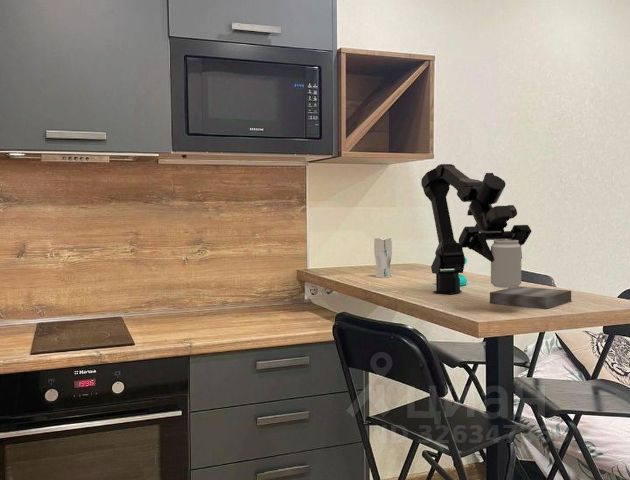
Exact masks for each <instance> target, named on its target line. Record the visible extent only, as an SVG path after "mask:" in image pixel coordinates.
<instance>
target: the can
mask: <svg viewBox="0 0 630 480" xmlns="http://www.w3.org/2000/svg"><path fill="white" fill-rule="evenodd" d="M518 242H519V241H518V240H508V239H507V240H493V243H492V244H491V245H490V250H491V252H492V254H493V257H494V261H493V262H491V261H490V284H492V286H493V287H495V288H503V289H507V288H515V287H518V286H521V284H522V259H521V251H522V245H521V246H520V245H519V243H518Z"/></svg>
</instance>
